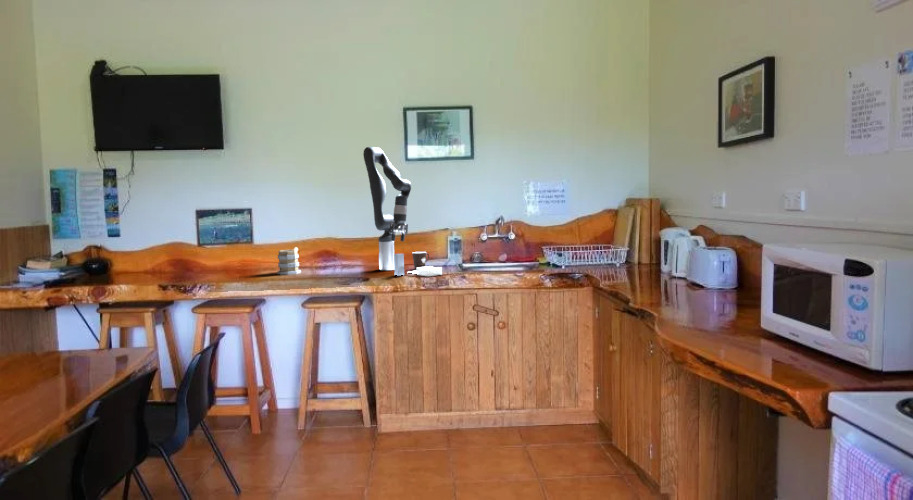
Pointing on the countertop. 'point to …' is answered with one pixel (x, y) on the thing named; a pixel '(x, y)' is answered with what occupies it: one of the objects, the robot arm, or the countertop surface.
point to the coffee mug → (419, 259)
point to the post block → (427, 271)
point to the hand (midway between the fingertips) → (397, 241)
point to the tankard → (288, 262)
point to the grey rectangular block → (399, 264)
